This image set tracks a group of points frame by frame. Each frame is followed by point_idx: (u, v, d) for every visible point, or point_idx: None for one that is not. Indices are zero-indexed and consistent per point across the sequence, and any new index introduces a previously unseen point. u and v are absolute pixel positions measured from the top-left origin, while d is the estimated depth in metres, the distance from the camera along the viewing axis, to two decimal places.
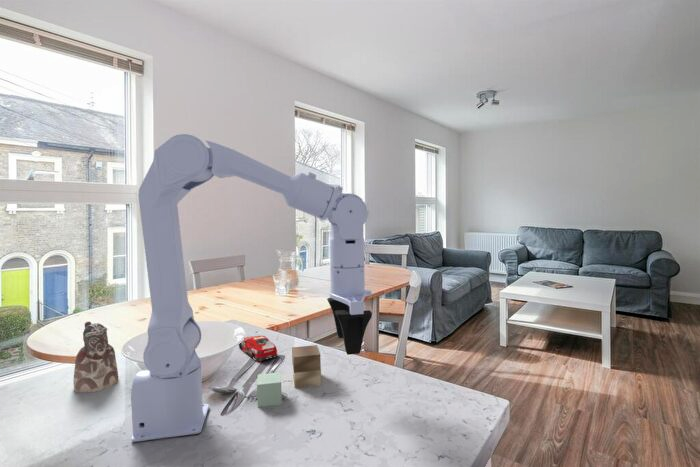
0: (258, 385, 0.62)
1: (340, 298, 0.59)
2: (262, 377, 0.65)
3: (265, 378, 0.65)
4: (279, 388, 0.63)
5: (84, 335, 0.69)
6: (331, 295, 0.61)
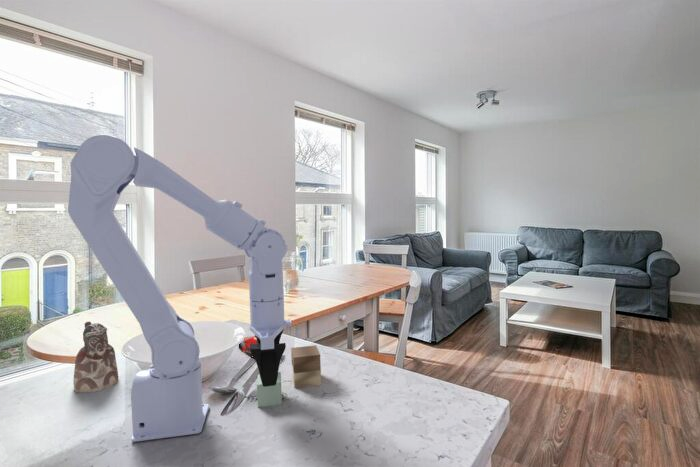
0: (258, 385, 0.62)
1: (255, 332, 0.60)
2: None
3: None
4: (279, 388, 0.63)
5: (84, 335, 0.69)
6: (250, 328, 0.63)
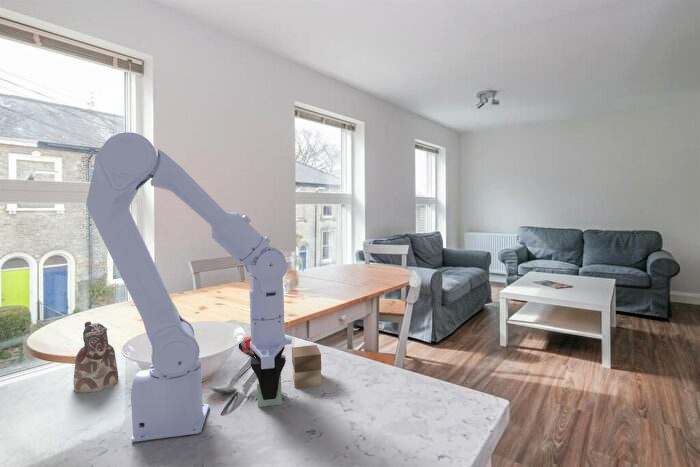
0: (258, 384, 0.62)
1: (255, 350, 0.60)
2: None
3: None
4: (279, 387, 0.63)
5: (84, 335, 0.69)
6: (250, 345, 0.63)
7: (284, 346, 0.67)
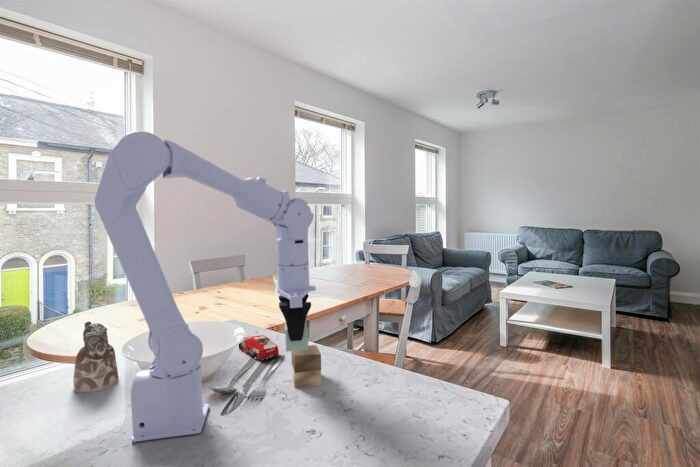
0: (286, 330, 0.67)
1: (283, 293, 0.65)
2: None
3: None
4: (306, 333, 0.68)
5: (84, 335, 0.69)
6: (277, 291, 0.67)
7: None
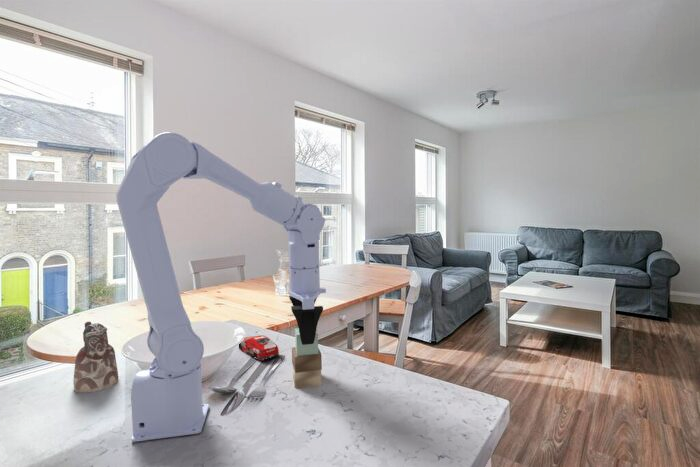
0: (297, 335, 0.69)
1: (296, 295, 0.67)
2: None
3: None
4: (316, 338, 0.70)
5: (84, 335, 0.69)
6: (289, 293, 0.70)
7: None
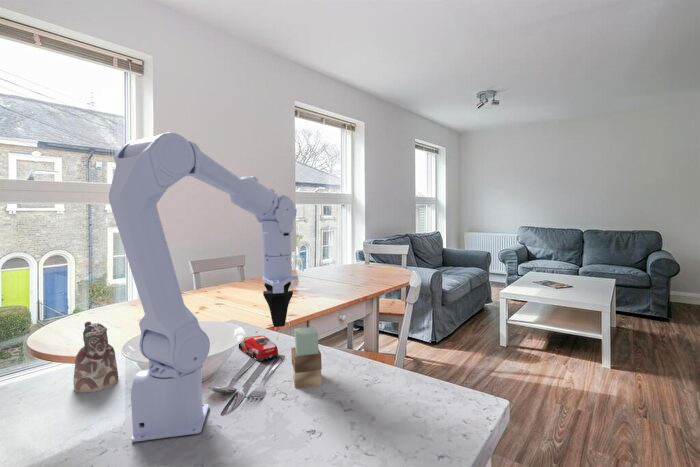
0: (298, 335, 0.69)
1: (267, 281, 0.72)
2: (299, 330, 0.72)
3: (302, 330, 0.72)
4: (316, 338, 0.70)
5: (84, 335, 0.69)
6: (262, 279, 0.74)
7: (290, 282, 0.80)
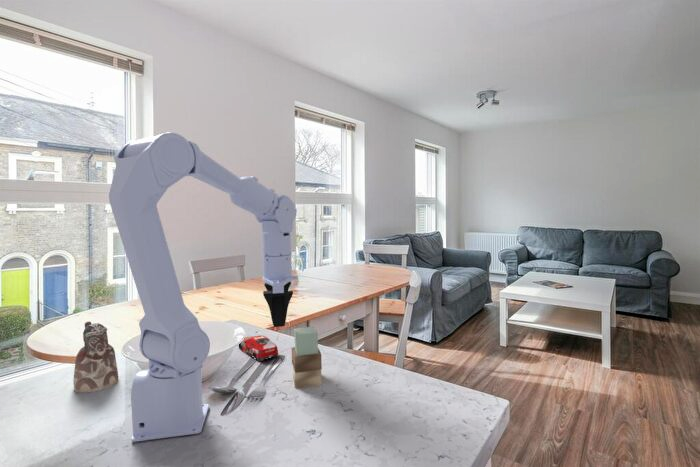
0: (297, 335, 0.69)
1: (267, 281, 0.72)
2: (299, 330, 0.72)
3: (302, 330, 0.72)
4: (316, 338, 0.70)
5: (84, 335, 0.69)
6: (262, 279, 0.74)
7: (290, 282, 0.80)
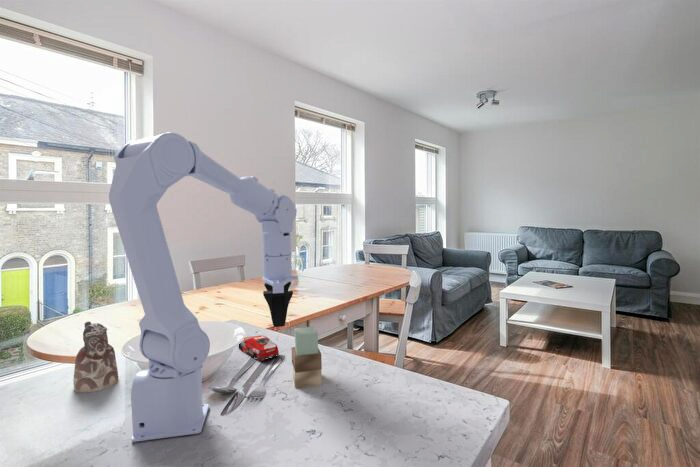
0: (297, 335, 0.69)
1: (267, 281, 0.72)
2: (299, 330, 0.72)
3: (302, 330, 0.72)
4: (316, 338, 0.70)
5: (84, 335, 0.69)
6: (262, 279, 0.74)
7: (290, 282, 0.80)
